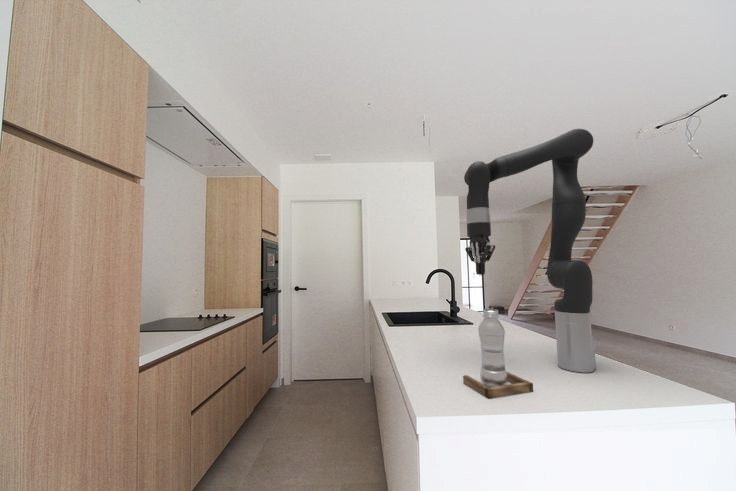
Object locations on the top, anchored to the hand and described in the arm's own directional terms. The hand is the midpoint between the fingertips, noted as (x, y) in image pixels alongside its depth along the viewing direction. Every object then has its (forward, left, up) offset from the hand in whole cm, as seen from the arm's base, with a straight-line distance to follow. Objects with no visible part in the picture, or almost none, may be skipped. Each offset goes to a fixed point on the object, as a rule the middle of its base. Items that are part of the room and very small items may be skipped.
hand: (480, 274), depth 99 cm
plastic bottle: (+10, +16, -29) cm, 35 cm away
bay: (+9, +16, -29) cm, 34 cm away
